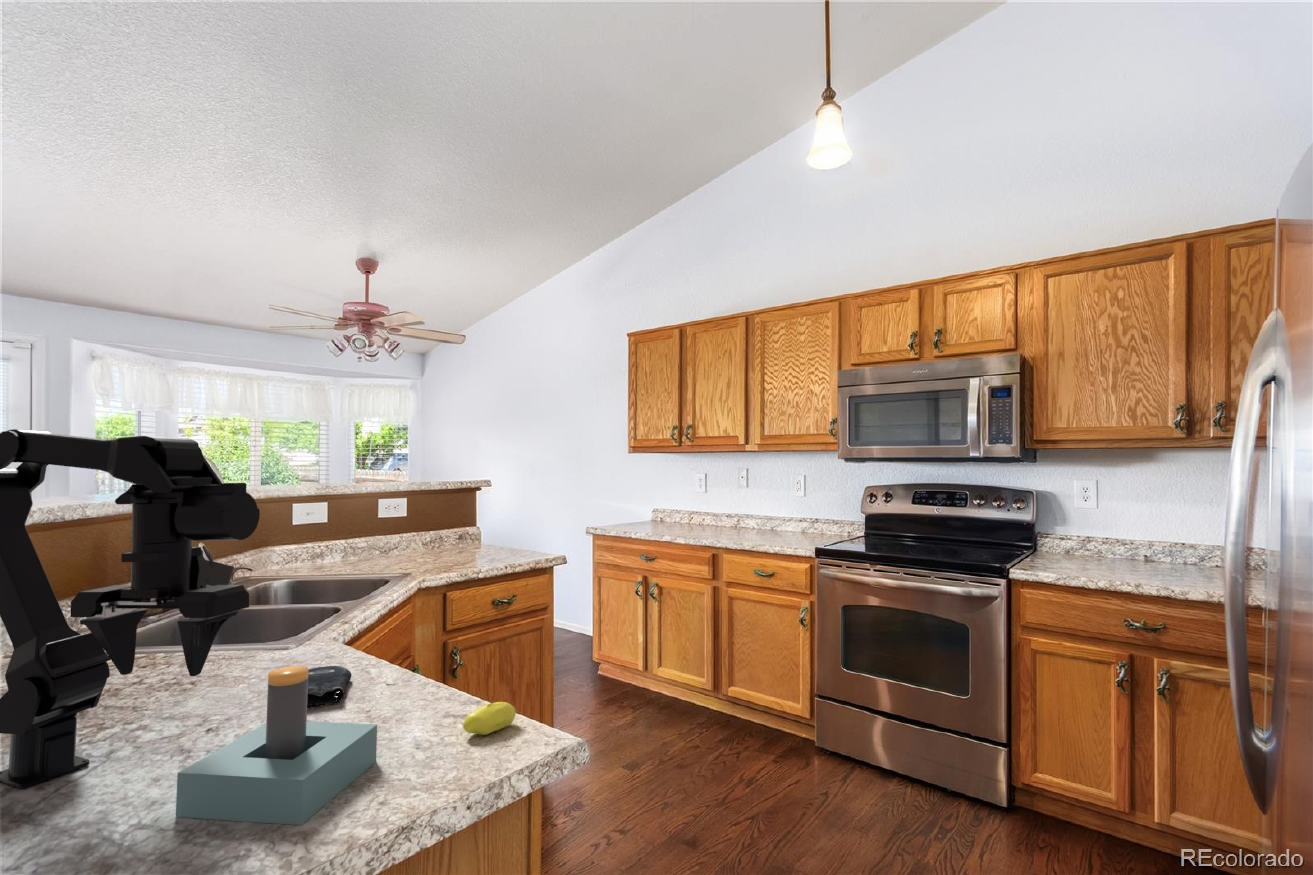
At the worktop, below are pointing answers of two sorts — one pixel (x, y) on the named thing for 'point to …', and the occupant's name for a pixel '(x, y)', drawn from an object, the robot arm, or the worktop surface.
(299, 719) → the plug
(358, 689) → the worktop surface
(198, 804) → the socket
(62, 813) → the worktop surface
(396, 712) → the worktop surface
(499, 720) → the lemon
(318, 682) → the electronic device
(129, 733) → the worktop surface
